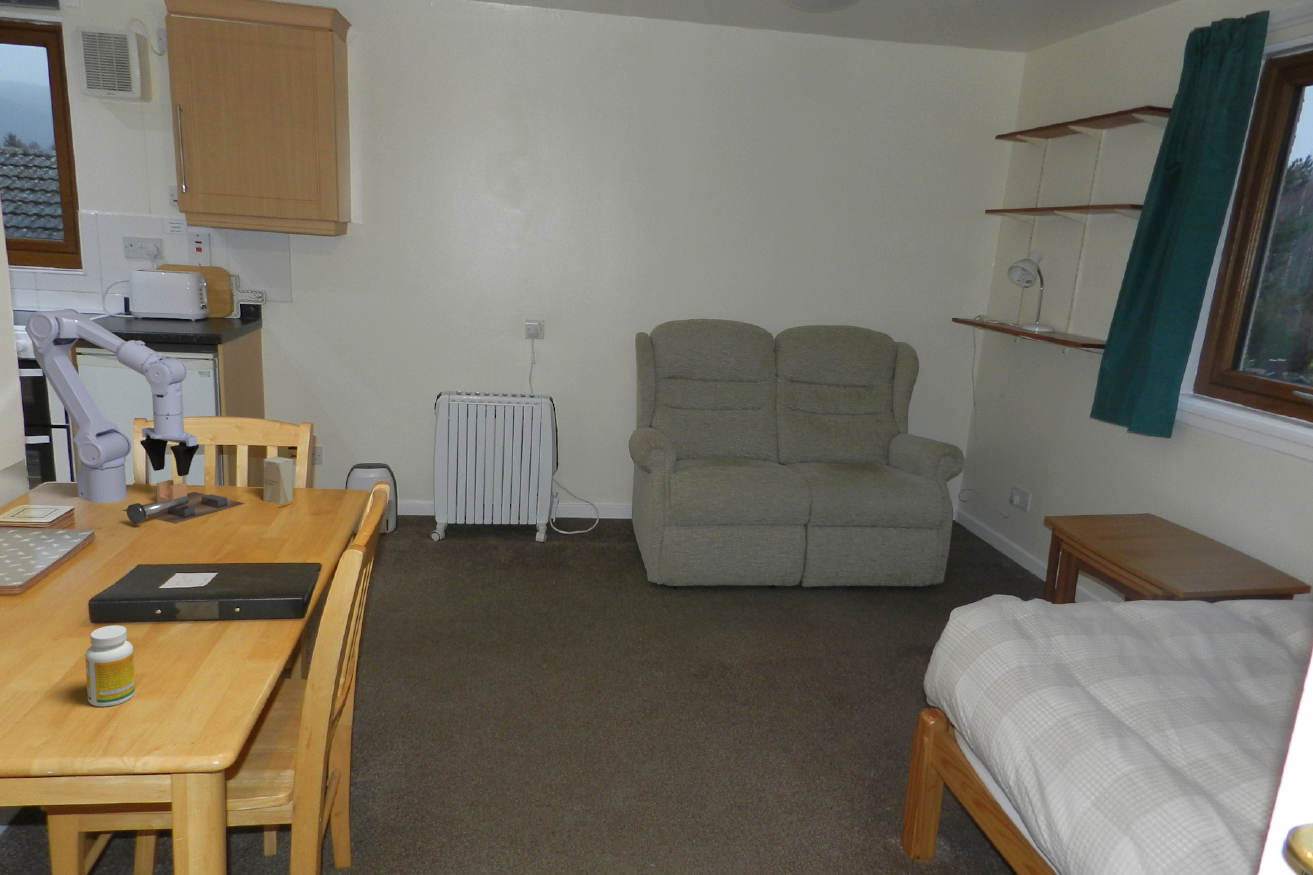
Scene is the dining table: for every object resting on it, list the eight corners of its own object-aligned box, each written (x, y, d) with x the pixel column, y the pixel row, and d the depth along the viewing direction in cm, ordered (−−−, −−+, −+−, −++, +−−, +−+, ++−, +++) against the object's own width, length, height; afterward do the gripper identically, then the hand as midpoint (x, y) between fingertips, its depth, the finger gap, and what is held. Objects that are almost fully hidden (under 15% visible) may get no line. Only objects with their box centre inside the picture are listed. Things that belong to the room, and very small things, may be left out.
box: (262, 504, 196) (261, 459, 194) (275, 500, 200) (275, 455, 198) (281, 508, 195) (280, 462, 192) (294, 503, 199) (293, 458, 196)
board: (122, 514, 182) (122, 510, 182) (194, 495, 199) (194, 491, 199) (175, 527, 177) (175, 523, 177) (245, 507, 193) (244, 503, 193)
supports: (168, 513, 182) (167, 505, 182) (211, 502, 192) (210, 494, 192) (184, 518, 180) (184, 509, 180) (227, 505, 190) (227, 497, 190)
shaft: (127, 521, 173) (126, 502, 172) (179, 507, 184) (179, 489, 183) (141, 524, 171) (140, 506, 171) (193, 510, 183) (192, 492, 182)
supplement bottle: (78, 702, 111) (73, 635, 109) (114, 684, 116) (110, 619, 114) (110, 711, 109) (105, 643, 107) (145, 692, 114) (141, 627, 112)
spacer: (157, 503, 188) (156, 483, 187) (171, 499, 191) (170, 479, 190) (173, 507, 187) (172, 486, 186) (187, 503, 190) (186, 483, 189)
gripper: (127, 411, 184) (131, 470, 186) (175, 420, 179) (178, 481, 181) (157, 407, 190) (160, 464, 193) (204, 415, 185) (206, 474, 188)
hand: (171, 472), depth 188 cm, fingers open, 7 cm apart
